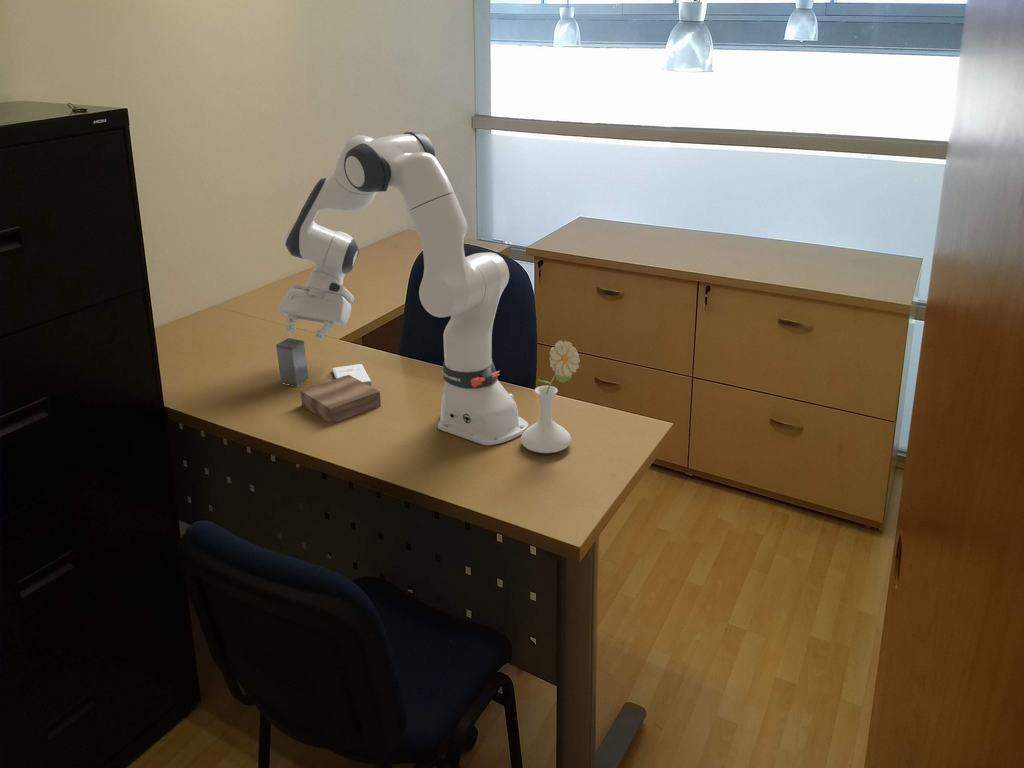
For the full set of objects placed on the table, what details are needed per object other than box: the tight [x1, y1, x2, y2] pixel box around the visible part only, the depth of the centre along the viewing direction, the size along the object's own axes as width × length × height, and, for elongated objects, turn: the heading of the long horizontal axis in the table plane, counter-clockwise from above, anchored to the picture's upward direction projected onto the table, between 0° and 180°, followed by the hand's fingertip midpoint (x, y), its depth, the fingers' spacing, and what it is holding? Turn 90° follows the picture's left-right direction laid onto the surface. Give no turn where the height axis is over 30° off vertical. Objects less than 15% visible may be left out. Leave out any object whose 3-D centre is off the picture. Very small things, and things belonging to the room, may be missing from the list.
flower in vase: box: [520, 340, 581, 454], centre depth 189 cm, size 13×11×25 cm
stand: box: [299, 375, 382, 424], centre depth 213 cm, size 14×14×4 cm
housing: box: [275, 337, 309, 387], centre depth 225 cm, size 5×5×11 cm
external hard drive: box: [331, 363, 372, 386], centre depth 229 cm, size 2×8×12 cm
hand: (304, 335), depth 227 cm, fingers open, 8 cm apart
